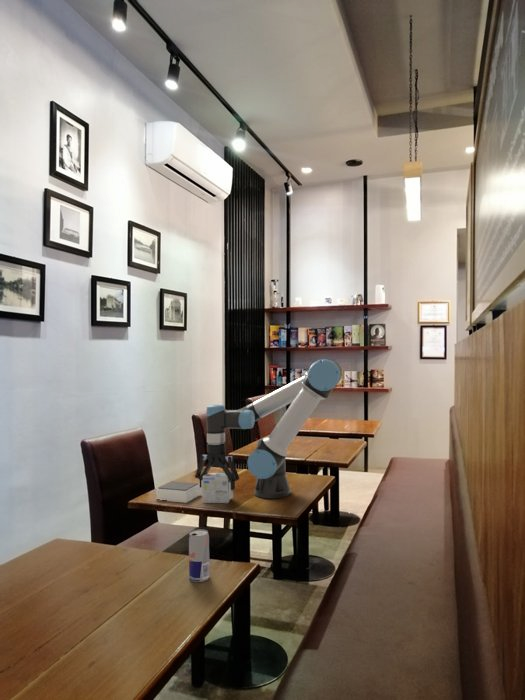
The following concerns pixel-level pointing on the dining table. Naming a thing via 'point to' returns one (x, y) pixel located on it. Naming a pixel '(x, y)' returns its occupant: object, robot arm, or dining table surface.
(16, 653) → the dining table surface
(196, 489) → the stand
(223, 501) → the light bulb box
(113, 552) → the dining table surface
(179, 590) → the dining table surface
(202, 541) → the energy drink
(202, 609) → the dining table surface
